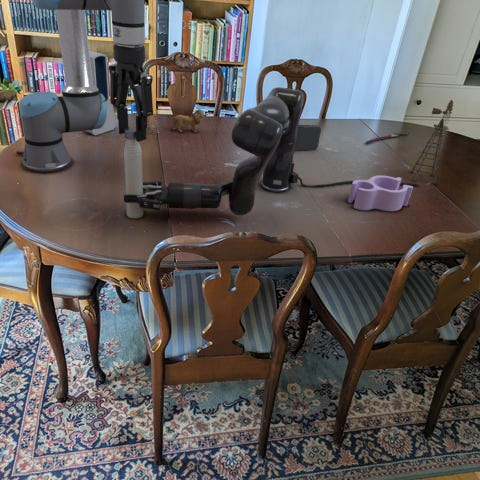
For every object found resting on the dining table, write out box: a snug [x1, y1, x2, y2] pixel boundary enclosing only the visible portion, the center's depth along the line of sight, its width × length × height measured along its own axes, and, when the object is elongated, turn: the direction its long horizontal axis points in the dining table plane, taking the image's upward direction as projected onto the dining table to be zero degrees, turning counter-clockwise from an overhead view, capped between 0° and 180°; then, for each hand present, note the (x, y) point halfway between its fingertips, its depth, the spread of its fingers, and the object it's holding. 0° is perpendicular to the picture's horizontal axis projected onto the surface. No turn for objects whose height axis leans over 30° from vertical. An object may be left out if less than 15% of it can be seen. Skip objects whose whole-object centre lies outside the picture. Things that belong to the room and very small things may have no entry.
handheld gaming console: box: [294, 124, 322, 151], centre depth 189 cm, size 23×3×10 cm, turn 108°
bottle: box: [123, 139, 144, 219], centre depth 130 cm, size 5×5×25 cm
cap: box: [124, 126, 136, 140], centre depth 124 cm, size 4×4×2 cm
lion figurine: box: [169, 108, 205, 133], centre depth 196 cm, size 15×5×9 cm, turn 110°
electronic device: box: [83, 50, 116, 136], centre depth 182 cm, size 12×8×30 cm, turn 148°
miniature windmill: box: [410, 99, 454, 185], centre depth 171 cm, size 9×8×30 cm
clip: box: [347, 175, 414, 212], centre depth 156 cm, size 20×12×7 cm, turn 109°
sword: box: [365, 132, 410, 145], centre depth 213 cm, size 31×3×1 cm, turn 126°
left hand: (132, 136), depth 124 cm, fingers open, 6 cm apart
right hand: (125, 194), depth 133 cm, fingers closed on bottle, 5 cm apart
